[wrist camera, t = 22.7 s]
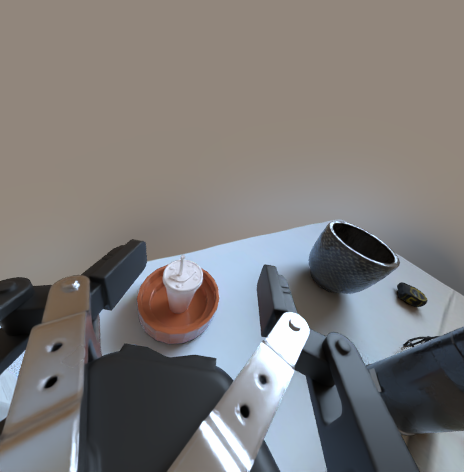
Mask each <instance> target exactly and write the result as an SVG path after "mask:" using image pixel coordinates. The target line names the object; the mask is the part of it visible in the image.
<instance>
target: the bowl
mask: <svg viewBox="0 0 464 472" xmlns="http://www.w3.org/2000/svg"><path fill="white" fill-rule="evenodd" d="M167 266H168V265H166V266H164V267H161V268H159V269H157V270H155V271H154V272H153V273H152V274H150V275H149V276H148V277H147V278H146V279H145V281H144V282H143V284H142V285H141V286H140V289H139V293H138V296H137V304H138V313H139V321H140V323H141V325H142V327H143V328H144V330H145V332H146V333H147V334H149V335H150V336H151V337H152V338H154V339H155V340H157V341H160V342H164V343H167V344H177V343H185V342H187V341H190V340H192V339H195V338H197V337H198V336H199V335H200V334H201V333H202V332H204V331H205V330H206V329H207V327H208V326H209V324H210V322H211V321H212V319H213V317H214V315H215V312H216V310H217V306H218V302H219V291H218V287H217V285H216V282H215V280H214V279H213V278H212V276H211V275H210V274H209V273H208V272H207V271H205V270H203V269H202V268H201V269H202V272H203V280H202V283H201V285H200V287H199V288H198V289H197V290H196V292H195V294H194V296H193V298H192V300H191V302H190V304H189V306H188V308H187V310H186V311H185V312H183V313H179V314H177V313H174V312H172V311H171V310H170V308H169V302H168V296H167V290H166V287H165V285H164V283H163V273H164V270H165V268H166V267H167Z"/></svg>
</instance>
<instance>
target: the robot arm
mask: <svg viewBox="0 0 464 472" xmlns="http://www.w3.org/2000/svg"><path fill="white" fill-rule="evenodd" d="M146 263H147V255H146V243H145V242H144V241H139V240H134V239H132V240H130V241H129V242H128V243H127V244H126V245H121V246H119V247H116V248H114V249H113V250H111V251H110V252H109V253H108V254H107V255H105V256H104V257H103V258H102V259H100V260H99V261H98V262H96V263H95V264H94V265H93V266H91V267H90V268H89V269H88V270H86V271H85V272H84V273H83V274H81V275H73V276H69V277H66V278H63V279H61V280H59V281H57V282H56V283H54V284H53V285H43V286H32V284H31V282H30V280H29V279H27V278H22V277H17V278H10V279H6V280H2V281H0V326H1V328H0V375H1V374H2V373H3V372H4V371H5V370H6V369H7V368H8V367H9V366H10V365H11V364H12V363H13V362H14V361H15V360H16V359H17V358H18V357H19V356H20V355H21V354H22V353H23V352H24V351H25V350H26V351H25V354H24V358H23V361H22V365H21V368H20V372H19V375H18V379H17V382H16V386H15V389H14V393H13V397H12V400H11V404H10V407H9V411H8V414H7V417H6V418H4V419H3V420H1V421H0V472H280V470H279V468H278V466H277V464H276V462H275V460H274V458H273V456H272V454H271V452H270V450H269V448H268V446H267V444H266V442H265V441H264V438H265V435H266V433H267V431H268V429H269V426H270V424H271V422H272V420H273V418H274V415H275V413H276V411H277V409H278V406H279V404H280V402H281V400H282V397H283V395H284V393H285V391H286V388H287V386H288V384H289V382H290V379H291V377H292V375H293V373H294V370H296V371H298V372H300V373H302V374H304V375H306V380H307V384H308V388H309V393H310V397H311V402H312V406H313V410H314V415H315V419H316V424H317V428H318V433H319V437H320V441H321V446H322V450H323V455H324V459H325V463H326V468H327V472H420V471H419V469H418V467H417V465H416V463H415V461H414V460H413V458H412V456H411V454H410V452H409V450H408V448H407V446H406V444H405V442H404V440H403V438H402V436H401V434H403V435H415V434H422V433H438V432H452V431H464V327H461V328H459V329H456V330H454V331H452V332H449V333H447V334H444V335H442V336H439V337H437V338H435V339H433V340H430V341H428V342H425V343H423V344H420V345H418V346H415V347H413V348H410V349H408V350H405V351H403V352H400V353H398V354H395V355H393V356H390V357H388V358H385V359H383V360H380V361H378V362H375V363H373V364H369V365H366V366H365V364H364V362H363V360H362V358H361V356H360V354H359V352H358V350H357V348H356V347H355V345H354V344H353V343H352V342H351V341H350V340H349V339H348V338H346V337H345V336H343V335H342V334H339V333H336V332H331V333H329V334H328V335H327V337H326V336H324V335H322V334H320V333H318V332H316V331H314V330H312V329H310V328H309V326H308V324H307V323H306V321H305V320H304V319H303V318H302V317H301V316H299V315H298V313H297V310H296V307H295V304H294V301H293V298H292V295H291V292H290V289H289V286H288V283H287V281H286V279H285V278H284V277H283V276H282V275H278V272H277V269H276V267H275V266H271V265H264V266H263V268H262V271H261V274H260V277H259V280H258V283H257V296H258V306H259V316H260V326H261V336H262V337H267V338H266V339H265V340H263V341H262V342H261V344H260V345H259V347H258V348H257V349H256V351H255V352H254V354H253V355H252V356H251V358H250V359H249V360H248V362H247V363H246V365H245V366H244V367H243V369H242V370H241V372H240V373H239V374H238V376H237V377H236V379H235V380H234V381H233V380H232V378H231V377H230V376H229V375H228V374H227V373H226V372H225V371H223V370H222V369H221V368H219V367H217V366H216V358H211V357H205V356H199V355H188V356H180V357H172V358H169V357H166V356H164V355H162V354H160V353H158V352H156V351H154V350H152V349H150V348H148V347H143V346H137V345H131V344H124V345H123V347H122V349H121V350H120V351H118V352H114V353H110V354H107V355H104V356H102V354H101V346H100V317H99V313H100V312H101V311H102V310H103V309H106V310H111V311H112V309H113V308H114V307H115V305H116V304H117V303H118V302H119V300H120V299H121V298H122V297H123V295H124V294H125V293H126V292H127V290H128V289H129V288H130V286H131V285H132V284H133V283H134V281H135V280H136V279H137V278H138V276H139V275H140V274H141V273H142V271H143V270H144V268H145V266H146Z"/></svg>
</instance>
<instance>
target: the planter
mask: <svg viewBox="0 0 464 472" xmlns="http://www.w3.org/2000/svg"><path fill="white" fill-rule="evenodd" d="M399 264H400V262H399V259H398V257H397V255H396V254H395V253H394V252H393V250H392V249H391V248H390V247H389V246H387V245H386V244H385V243H384V242H382V241H381V240H380V239H378V238H377V237H375V236H374V235H372V234H370V233H369V232H367V231H365V230H363V229H361V228H359V227H357V226H355V225H352V224H349V223H346V222H342V221H332V222H330V223H329V224H328V225H327V227H326V228H325V229H324V231H323V232H322V233H321V235H320V236H319V238H318V239H317V241H316V243H315V244H314V246H313V248H312V250H311V252H310V256H309V266H310V270H311V275H312V278H313V279H314V281H315V282H316V283H317V284H318V285H319V286H320V287H322V288H323V289H325V290H327V291H330V292H338V293H345V294H351V293H356V292H360V291H362V290H364V289H366V288H368V287H370V286H372V285H374V284H375V283H377V282H379V281H380V280H382V279H383V278H385V277H386V276H387V275H389V274H390V273H391V272H393V271H394V270H395V269H396V268H397V267H398V266H399Z"/></svg>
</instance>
